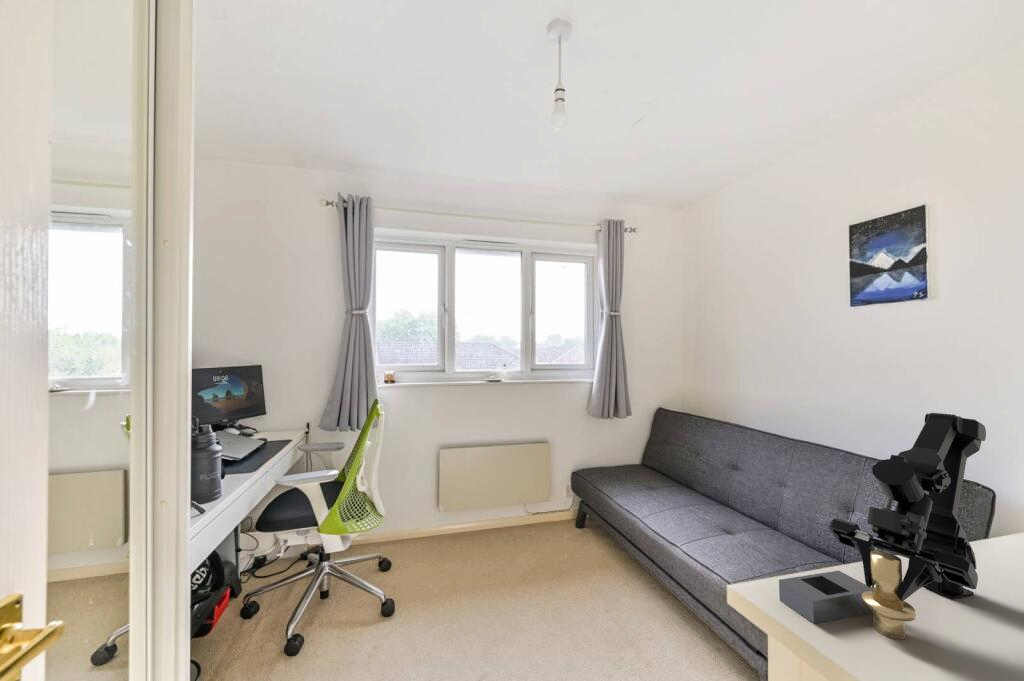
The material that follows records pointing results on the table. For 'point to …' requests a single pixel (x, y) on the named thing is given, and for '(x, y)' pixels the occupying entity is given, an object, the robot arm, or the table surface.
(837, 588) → the steel hitch block
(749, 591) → the table surface
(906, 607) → the brass pin
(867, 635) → the table surface
